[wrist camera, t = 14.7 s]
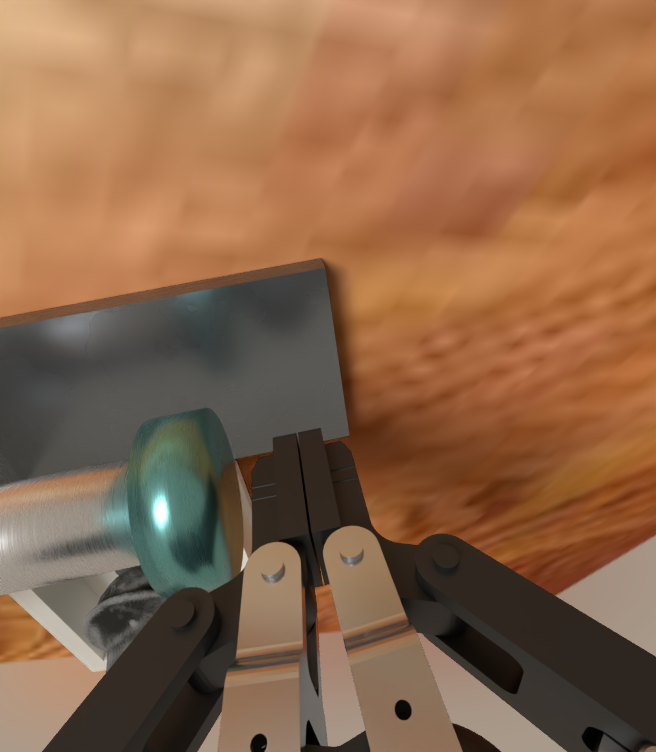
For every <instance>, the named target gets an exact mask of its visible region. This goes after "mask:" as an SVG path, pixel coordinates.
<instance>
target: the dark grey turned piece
mask: <svg viewBox="0 0 656 752" xmlns="http://www.w3.org/2000/svg"><path fill="white" fill-rule="evenodd" d="M115 572H116V574H118V575H119V576H118V577H117V578H116V579H115V580H114V581H113V582H112V583H111V584H110V585H109V586H108V588H107V589H106V590H105V592H104V593H103V594H102V596H101V597H100V599H99V602H98V604H97V605H96V606H95V607H94V608H93V609H92V610H91V611H90V612H89V613H88V614H87V616H86V619H85V621H84V624H83V629H84V635H85V636H86V638H87V639H88V640H89V641H90V643H91V644H92V645H94V646H95V647H97V648H98V649H100V650H102V651H104V652H107V666H106V673H107V671H108V670H109V669H110V668H111V667H112V665H113V664H114V663H115V662H116V660H117V659H118V658H119V657H120V655H121V654H122V653H123V652H124V651H125V649H126V648H127V647H128V646H129V644H130V643H131V642H132V641H133V640H134V638H135V637H136V636H137V635H138V633H139V632H140V631H141V630H142V628H143V627H144V626H145V625H146V624H147V622H148V621H149V620H150V619H151V617H152V616H153V615H154V614H155V613H156V611H157V610H158V609H159V608H160V606H161V605H162V604H163V603H164V602H165V601H166V600H167V599H166V598H163V597H161V596H160V595H159V594H158V593H156V592H155V590H154V589H153V588H152V587H151V585H150V584H149V582H148V580H147V579H146V577H145V575H144V572H143V570H142V568H141V565H140V566H135V567H130V568H126V569H121V570H116V571H115ZM207 592H208V591H207Z"/></svg>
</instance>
